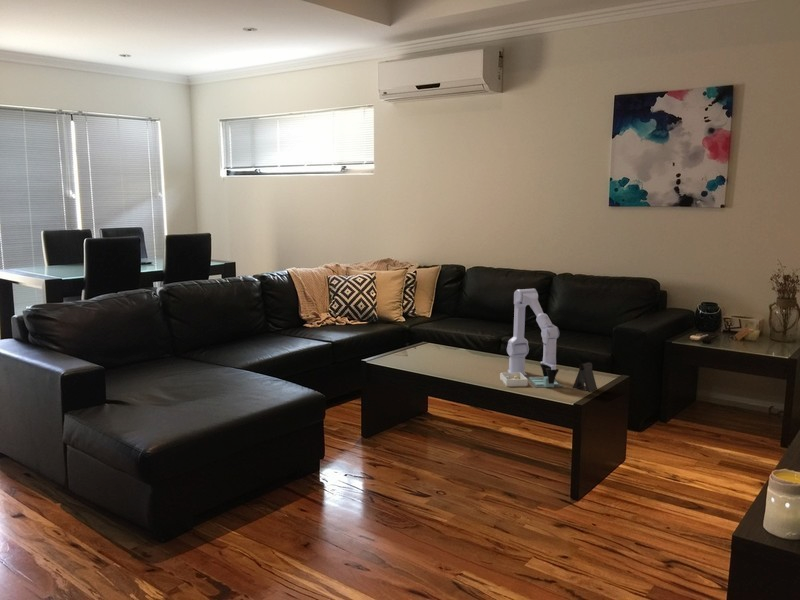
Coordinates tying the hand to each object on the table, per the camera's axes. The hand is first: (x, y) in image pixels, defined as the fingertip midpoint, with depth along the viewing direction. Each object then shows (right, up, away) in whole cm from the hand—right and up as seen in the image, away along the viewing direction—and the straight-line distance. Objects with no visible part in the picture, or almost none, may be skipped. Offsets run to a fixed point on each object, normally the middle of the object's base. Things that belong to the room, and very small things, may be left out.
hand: (548, 381), depth 313 cm
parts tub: (-15, -2, +8) cm, 17 cm away
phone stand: (+16, -3, -3) cm, 17 cm away
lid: (-1, -1, +7) cm, 7 cm away
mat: (-1, -1, +8) cm, 8 cm away
